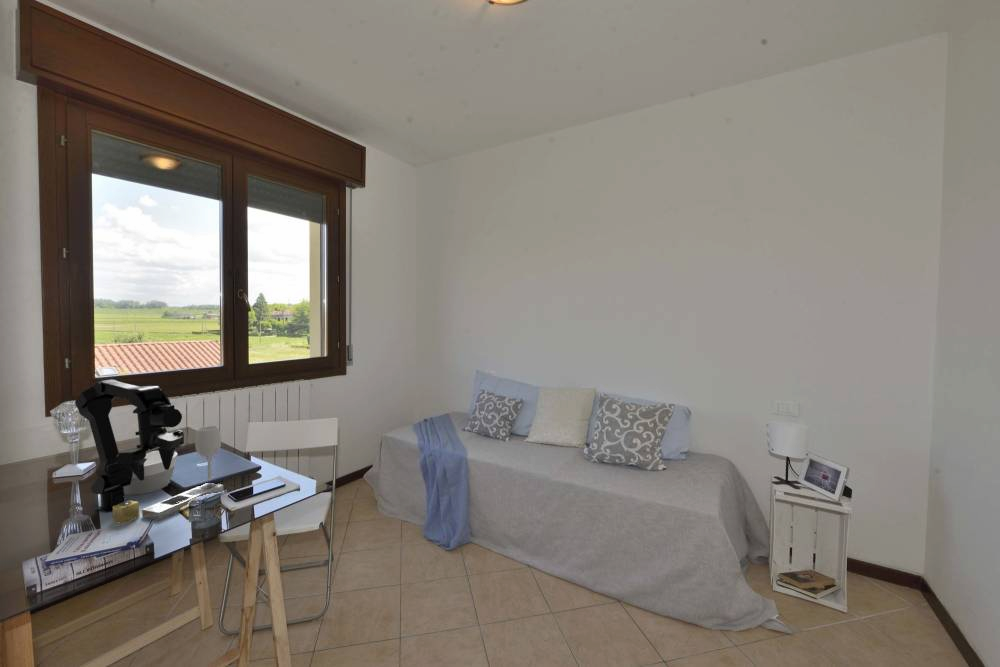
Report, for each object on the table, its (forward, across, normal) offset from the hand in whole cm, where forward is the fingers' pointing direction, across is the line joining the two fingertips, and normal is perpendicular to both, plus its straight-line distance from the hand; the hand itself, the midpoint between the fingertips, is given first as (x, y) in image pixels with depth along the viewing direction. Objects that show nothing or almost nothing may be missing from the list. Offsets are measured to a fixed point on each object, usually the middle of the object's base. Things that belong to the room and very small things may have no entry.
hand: (154, 474), depth 137 cm
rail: (+13, +8, -2) cm, 16 cm away
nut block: (+13, -3, +8) cm, 16 cm away
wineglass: (+13, +26, +3) cm, 29 cm away
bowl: (+12, +21, +24) cm, 34 cm away
